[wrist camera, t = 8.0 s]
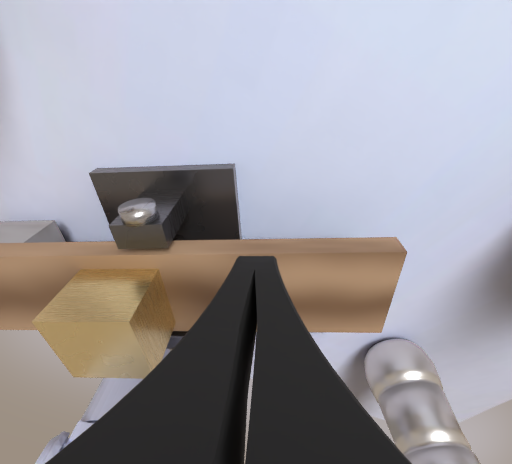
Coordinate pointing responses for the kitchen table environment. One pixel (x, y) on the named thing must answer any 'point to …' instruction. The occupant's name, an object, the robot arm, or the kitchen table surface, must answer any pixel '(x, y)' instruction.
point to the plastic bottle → (415, 404)
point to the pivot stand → (169, 206)
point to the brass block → (109, 323)
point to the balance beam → (207, 274)
